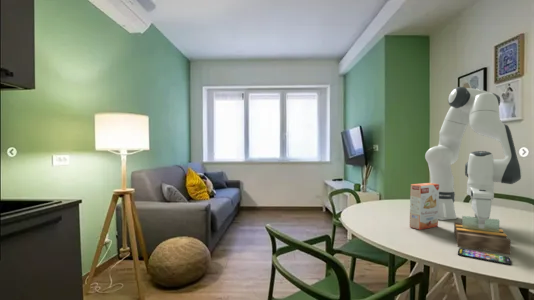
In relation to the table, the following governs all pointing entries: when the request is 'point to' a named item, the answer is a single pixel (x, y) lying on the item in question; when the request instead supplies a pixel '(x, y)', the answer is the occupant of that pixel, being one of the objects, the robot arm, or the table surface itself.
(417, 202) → the cracker box
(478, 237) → the rack
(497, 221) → the panel
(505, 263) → the smartphone
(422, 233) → the table surface
